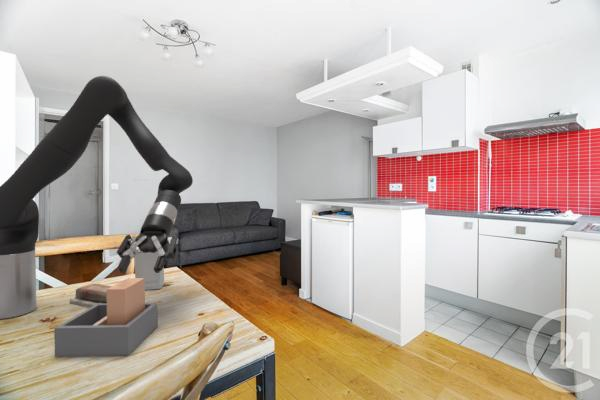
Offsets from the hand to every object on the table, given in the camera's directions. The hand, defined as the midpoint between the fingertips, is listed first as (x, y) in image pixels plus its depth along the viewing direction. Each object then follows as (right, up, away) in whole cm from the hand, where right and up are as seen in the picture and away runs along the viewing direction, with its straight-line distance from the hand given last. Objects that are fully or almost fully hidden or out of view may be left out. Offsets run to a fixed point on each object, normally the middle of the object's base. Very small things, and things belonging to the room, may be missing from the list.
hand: (139, 271), depth 71 cm
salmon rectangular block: (0, -13, -5) cm, 14 cm away
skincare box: (-13, -14, +30) cm, 36 cm away
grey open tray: (-3, -14, -5) cm, 16 cm away
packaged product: (-21, -15, +18) cm, 31 cm away
